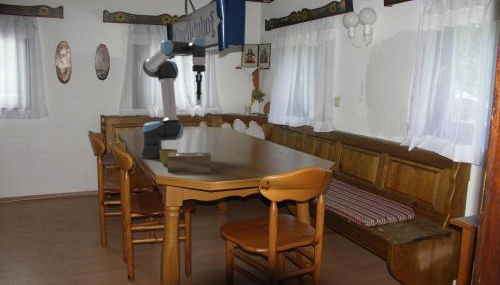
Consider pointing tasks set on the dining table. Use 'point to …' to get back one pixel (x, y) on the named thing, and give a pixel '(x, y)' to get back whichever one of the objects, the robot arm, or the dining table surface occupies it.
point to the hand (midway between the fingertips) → (198, 105)
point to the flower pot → (166, 155)
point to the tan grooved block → (189, 162)
